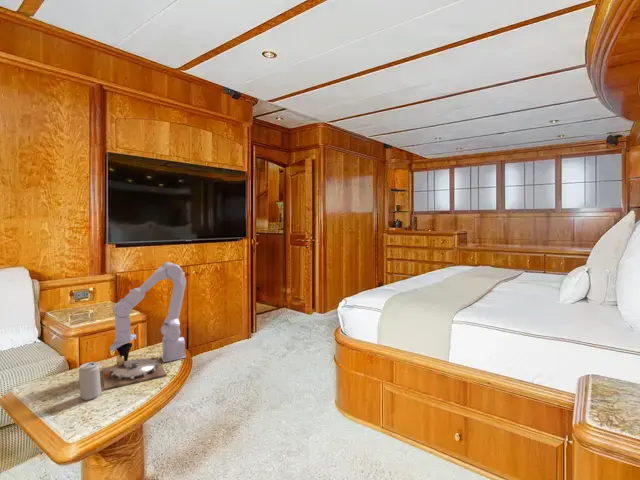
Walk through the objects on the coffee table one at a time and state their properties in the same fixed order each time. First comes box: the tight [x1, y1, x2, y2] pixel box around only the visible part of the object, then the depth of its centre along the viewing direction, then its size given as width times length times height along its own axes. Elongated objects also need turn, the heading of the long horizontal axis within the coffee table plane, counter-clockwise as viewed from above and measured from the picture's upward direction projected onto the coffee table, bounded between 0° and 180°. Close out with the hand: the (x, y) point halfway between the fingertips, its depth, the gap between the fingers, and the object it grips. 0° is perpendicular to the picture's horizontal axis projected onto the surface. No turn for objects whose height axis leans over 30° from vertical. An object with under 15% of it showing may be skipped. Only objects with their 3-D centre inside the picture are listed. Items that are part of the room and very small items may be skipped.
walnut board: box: [101, 356, 167, 391], centre depth 154 cm, size 22×21×2 cm
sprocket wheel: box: [110, 354, 159, 380], centre depth 154 cm, size 18×18×6 cm
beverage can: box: [78, 361, 102, 401], centre depth 134 cm, size 6×6×12 cm
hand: (124, 360), depth 157 cm, fingers closed
